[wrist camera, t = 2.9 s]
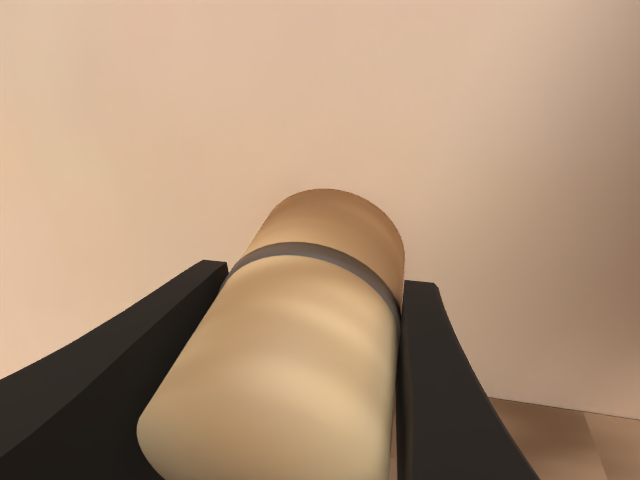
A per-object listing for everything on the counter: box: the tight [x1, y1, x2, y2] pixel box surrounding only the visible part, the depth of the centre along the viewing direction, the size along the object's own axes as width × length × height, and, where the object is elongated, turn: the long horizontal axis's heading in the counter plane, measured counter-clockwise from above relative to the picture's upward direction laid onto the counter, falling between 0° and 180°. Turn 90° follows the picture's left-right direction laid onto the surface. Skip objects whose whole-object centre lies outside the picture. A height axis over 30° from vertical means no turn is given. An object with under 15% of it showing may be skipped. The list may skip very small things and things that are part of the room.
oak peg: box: [137, 189, 404, 480], centre depth 9 cm, size 4×4×6 cm
